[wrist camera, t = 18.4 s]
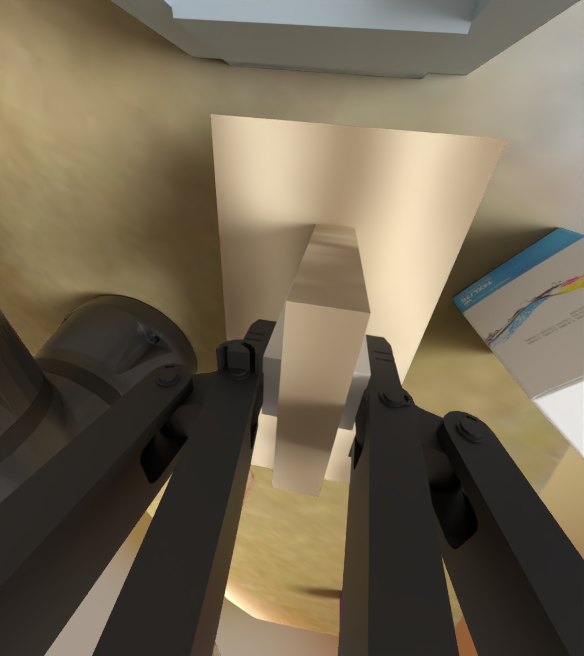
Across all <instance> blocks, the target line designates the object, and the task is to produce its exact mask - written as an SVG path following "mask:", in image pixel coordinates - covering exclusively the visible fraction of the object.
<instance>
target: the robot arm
mask: <svg viewBox="0 0 584 656" xmlns="http://www.w3.org/2000/svg"><path fill="white" fill-rule="evenodd" d="M294 279H295V278H294ZM293 282H294V280H293ZM292 284H293V283H292ZM291 287H292V285H291ZM290 289H291V288H290ZM289 292H290V290H289ZM288 294H289V293H288ZM287 297H288V295H287ZM286 299H287V298H286ZM285 307H286V300H285V303H284V305H283V308H282V310H281V313H280V315H279V318H278V320H277V322H275V321H269V320H262V319H258V320H257V321H255V322H254V323H253V324H251V326H250V327H249V329H248V331H247V333H246V335H245V337H244V339H234V340H230V341H226V342H225V343H223V344H221V345H220V346H219V347H218V348H217V349H216V354H217V364H218V371H216V372H212V373H205V374H196V373H197V361H196V357H195V354H194V351H193V349H192V346H191V345H190V343H189V341H188V340H187V338H186V337H185V335H184V334H183V333H182V331H181V330H180V329H179V328H178V327H177V326H176V325H175V324H174V323H173V322H172V321H171V320H170V319H168V318H167V317H166V316H165V315H163V314H162V313H160V312H159V311H157V310H156V309H154V308H152V307H151V306H149V305H147V304H144V303H142V302H140V301H137V300H134V299H131V298H127V297H123V296H115V295H106V296H100V297H96V298H93V299H91V300H89V301H88V302H86V303H84V304H82V305H81V306H79V307H77V308H75V309H74V310H73V311H71V312H70V313H69V314H68V315H67V316H66V318H65V319H64V321H63V322H62V324H61V326H60V327H59V328H58V329H57V330H56V332H55V333H54V334H53V335H52V336H51V337H50V339H49V340H48V341H47V342H46V343H45V344H44V346H43V347H42V348H41V349H40V351H39V352H38V353H37V354H36V355H35V356H34V357H32V355H31V354H30V352H29V351H28V349H27V348H26V346H25V345H24V344H23V342H22V341H21V339H20V338H19V336H18V335H17V333H16V332H15V330H14V329H13V327H12V326H11V325H10V323H9V322H8V320H7V319H6V317H5V316H4V314H3V313H2V311H1V310H0V656H44V655H45V654H46V652H47V650H48V649H49V648H50V646H51V645H52V643H53V642H54V641H55V639H56V638H57V636H58V635H59V634H60V632H61V631H62V629H63V628H64V627H65V625H66V624H67V622H68V621H69V619H70V618H71V616H72V615H73V614H74V612H75V611H76V609H77V608H78V606H79V605H80V604H81V602H82V601H83V599H84V598H85V596H86V595H87V594H88V592H89V591H90V589H91V588H92V587H93V585H94V584H95V582H96V581H97V579H98V578H99V577H100V575H101V574H102V572H103V571H104V570H105V568H106V567H107V565H108V564H109V562H110V561H111V560H112V558H113V557H114V555H115V554H116V552H117V551H118V550H119V548H120V547H121V545H122V544H123V542H124V541H125V540H126V538H127V537H128V535H129V534H130V532H131V531H132V530H133V528H134V527H135V525H136V524H137V522H138V521H139V520H140V518H141V517H142V515H143V514H144V513H145V511H146V510H147V508H148V507H149V505H150V504H151V503H152V501H153V500H154V498H155V497H156V495H157V494H158V493H159V491H160V490H161V488H162V487H163V485H164V484H165V483H166V481H167V480H168V478H169V477H170V475H171V474H172V473H173V474H172V476H171V478H170V480H169V483H168V485H167V487H166V489H165V492H164V494H163V496H162V498H161V501H160V503H159V505H158V508H157V510H156V512H155V514H154V517H153V519H152V521H151V523H150V526H149V528H148V530H147V533H146V535H145V537H144V539H143V542H142V544H141V546H140V548H139V551H138V553H137V555H136V557H135V560H134V562H133V564H132V567H131V569H130V571H129V574H128V576H127V578H126V580H125V582H124V585H123V587H122V589H121V592H120V594H119V596H118V598H117V601H116V603H115V605H114V607H113V610H112V612H111V614H110V616H109V619H108V621H107V623H106V626H105V628H104V630H103V632H102V635H101V637H100V639H99V642H98V644H97V646H96V648H95V650H94V653H93V655H92V656H212V654H213V649H214V644H215V639H216V634H217V629H218V624H219V619H220V614H221V609H222V604H223V598H224V594H225V589H226V584H227V579H228V574H229V569H230V564H231V559H232V554H233V549H234V544H235V540H236V535H237V530H238V525H239V520H240V515H241V510H242V505H243V500H244V495H245V490H246V485H247V480H248V475H249V470H250V465H251V460H252V455H253V450H254V445H255V440H256V435H257V430H258V417H259V414H260V411H261V408H262V414H265V415H270V416H275V417H277V413H278V400H279V387H280V374H281V360H282V347H283V334H284V320H285ZM354 424H355V429H356V434H355V437H354V440H353V443H352V446H351V449H350V451H349V455H348V457H351V471H350V485H349V500H348V515H347V529H346V544H345V559H344V573H343V588H342V603H341V617H340V632H339V647H338V656H459V652H458V646H457V640H456V635H455V629H454V623H453V618H452V612H451V606H450V601H449V595H448V590H447V584H446V578H445V573H444V567H443V561H442V558H443V560H444V563H445V566H446V569H447V571H448V574H449V577H450V580H451V582H452V585H453V588H454V591H455V593H456V596H457V599H458V602H459V604H460V607H461V610H462V613H463V615H464V618H465V621H466V624H467V626H468V629H469V632H470V635H471V637H472V640H473V643H474V646H475V648H476V651H477V654H478V656H584V560H583V558H582V557H581V555H580V554H579V552H578V551H577V550H576V548H575V547H574V545H573V544H572V543H571V541H570V540H569V538H568V537H567V536H566V534H565V533H564V532H563V530H562V528H561V527H560V526H559V524H558V523H557V521H556V520H555V519H554V517H553V516H552V514H551V513H550V512H549V510H548V509H547V507H546V506H545V504H544V503H543V502H542V500H541V499H540V497H539V496H538V495H537V493H536V492H535V490H534V489H533V488H532V486H531V485H530V483H529V482H528V481H527V479H526V478H525V476H524V475H523V473H522V472H521V471H520V469H519V468H518V466H517V465H516V464H515V462H514V461H513V459H512V458H511V457H510V455H509V454H508V452H507V451H506V450H505V448H504V447H503V445H502V444H501V442H500V441H499V440H498V438H497V437H496V435H495V434H494V433H493V431H492V430H491V429H490V428H489V427H488V426H487V425H486V424H485V423H484V422H482V421H481V420H479V419H478V418H477V417H475V416H472V415H470V414H468V413H465V412H460V411H452V412H449V413H447V414H446V415H445V416H444V418H442V417H439V416H437V415H435V414H432V413H430V412H427V411H425V410H423V409H421V408H419V407H418V406H416V405H415V403H414V401H413V399H412V397H411V396H410V395H409V394H408V392H407V391H405V390H404V389H402V386H401V382H400V378H399V374H398V371H397V367H396V363H395V359H394V356H393V351H392V347H391V345H390V344H389V343H388V341H387V340H386V339H385V338H384V337H379V336H372V335H366V334H365V335H364V339H363V342H362V346H361V349H360V353H359V356H358V360H357V363H356V367H355V371H354V374H353V378H352V381H351V385H350V388H349V392H348V395H347V399H346V402H345V406H344V409H343V413H342V417H341V420H340V424H339V427H338V428H340V429H345V430H351V431H352V430H353V427H354ZM441 555H442V556H441Z"/></svg>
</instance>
